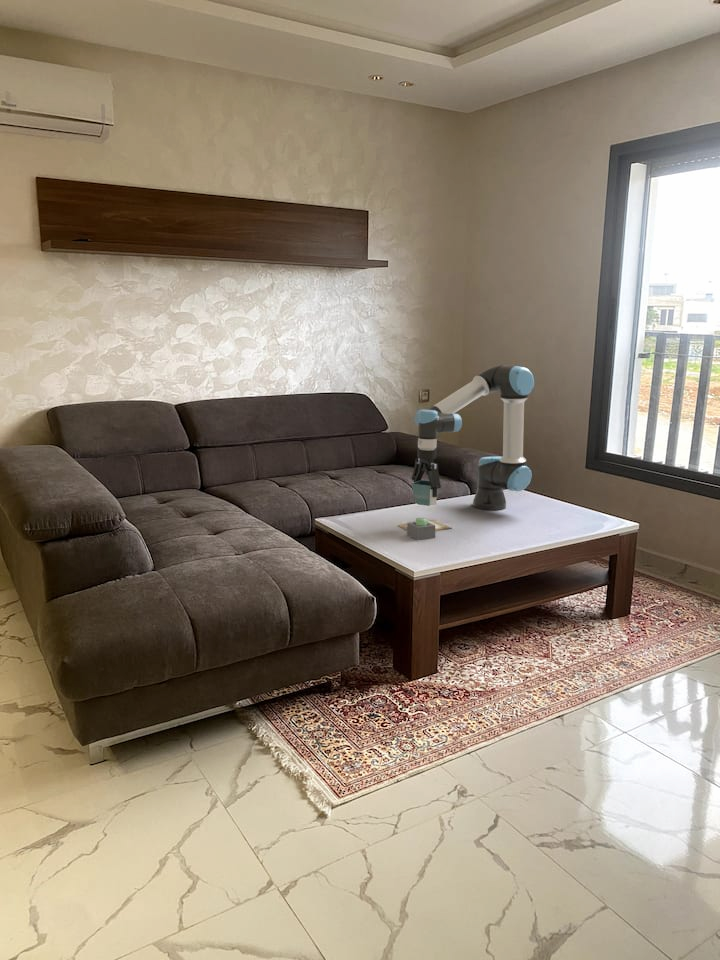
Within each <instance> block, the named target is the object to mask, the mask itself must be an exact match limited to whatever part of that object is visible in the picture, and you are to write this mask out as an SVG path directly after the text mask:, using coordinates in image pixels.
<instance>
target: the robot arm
mask: <svg viewBox="0 0 720 960" xmlns="http://www.w3.org/2000/svg"><path fill="white" fill-rule="evenodd" d="M534 387H535V379H534V375H533V373H532V371H530V370H529V369H528V368H527V367H524V366H519V365H504V364H500V365H499V364H498V365H495V366H491V367H489V368H488V369H485V370H484V371H481V372H480V373H478V374H477V375H475V376H473V378H472V381H470V382H469V383H467V384H465V385H464V386H462V387H461V388H458V390H456V391H454V392H452V393H451V394H449V395H448V396H447V397H445V398H444V399H442V400H440V401H439V402H437V403H436V404H434V405H432V406H431V407H429V408H427V409H419V410H418V411H416V413H415V415H414V423H415V425H416V426H417V428H418V429H417V431H418V432H417V454H416V455H417V458H415V460H414V466H413V471H412V474H411V480H412V481H413V483H415V482H417V481H419V480H423V476H424V475H425V474H426V476H427V477H428V481H430V485H431V488H430V505H429V506H433V505H434V506H436V505H437V499H438V498H437V497H438V495H437V489H438V488H439V489H441V487H442V486H441V479H440V473H439V464H438V463H435V461H434V460H436V458H437V448H438V447H437V445H438V444H437V442H438V441H437V440H438V439H437V438H438V434H445V433H455V432H459V431H460V430H462V426H463V419H462V417H461V415H460V414H459V413H457V412H458V411H460V410H462V409H463V408H465V407H466V406H468V405H469V404H470V403H472V402H473V401H475V400H477V399H479V398H480V397H482V396H485V397H486V396H488V395H490V394H491V393H497V392H498V393H500V394H499V397H500V399H501V401H502V402H503V425H502V426H503V430H502V431H503V434H502V435H503V436H502V438H503V439H502V456H497V455H496V456H485V457H480V459H479V460H478V465H477V489H476V492H475V495H474V498H473V500H472V507H474V508H475V509H476V508H477V509H480V510H487V511H499V510H504V509H506V508H507V499H506V496H505V493H504V489H505V490H508V491H511V492H522V491H523V490H525V489H526V488H527V487H528V486H529V485H530V483H531V481H532V478H533V474H532V470H531V469H530V467H528V466H527V459H526V458H525V457H524V424H525V423H524V422H525V421H524V420H525V419H524V418H525V417H524V416H525V402H526V401H527V400H528V399H529V394H530V393H531V392H532V391H533V389H534ZM433 485H434V486H433ZM439 489H438V490H439Z"/></svg>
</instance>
